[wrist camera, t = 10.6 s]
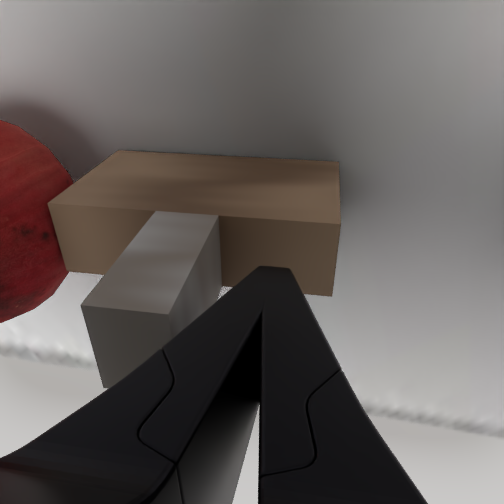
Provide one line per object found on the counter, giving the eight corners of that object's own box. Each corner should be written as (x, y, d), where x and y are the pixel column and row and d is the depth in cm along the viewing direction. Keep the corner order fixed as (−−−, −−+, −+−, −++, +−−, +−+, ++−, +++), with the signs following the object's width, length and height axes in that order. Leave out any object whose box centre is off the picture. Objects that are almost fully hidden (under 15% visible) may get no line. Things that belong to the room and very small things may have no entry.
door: (339, 161, 13) (344, 333, 6) (332, 221, 14) (331, 419, 7) (118, 150, 14) (-68, 289, 7) (127, 206, 15) (-27, 370, 8)
